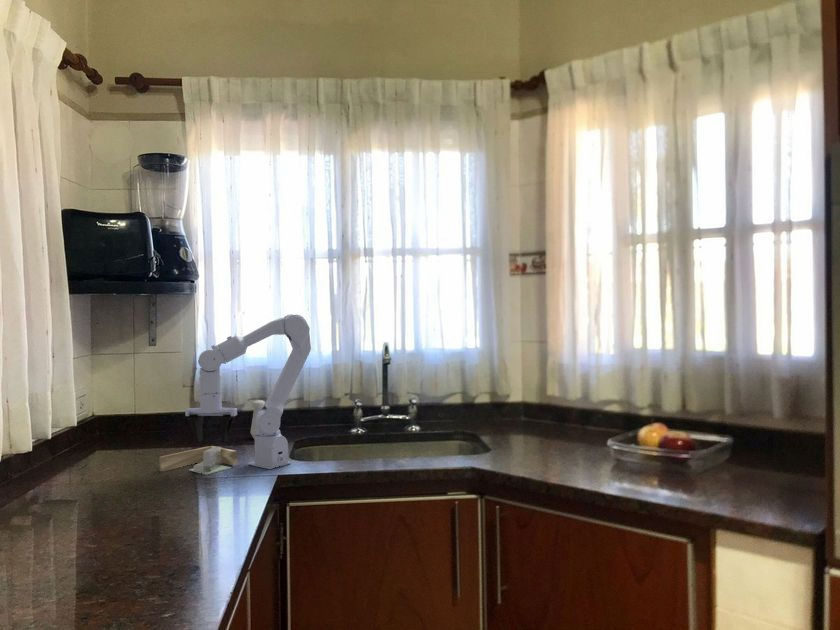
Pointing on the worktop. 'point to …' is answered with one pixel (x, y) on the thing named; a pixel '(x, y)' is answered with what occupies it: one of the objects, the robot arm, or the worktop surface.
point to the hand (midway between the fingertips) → (212, 441)
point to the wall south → (228, 456)
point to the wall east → (181, 459)
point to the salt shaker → (257, 406)
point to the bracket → (209, 460)
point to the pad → (213, 470)
